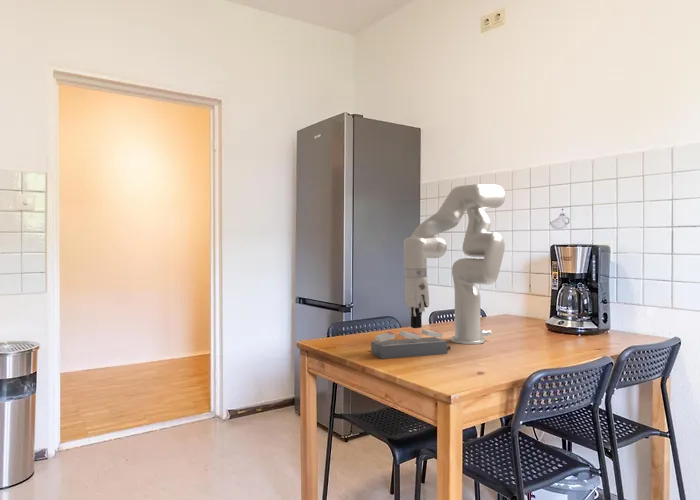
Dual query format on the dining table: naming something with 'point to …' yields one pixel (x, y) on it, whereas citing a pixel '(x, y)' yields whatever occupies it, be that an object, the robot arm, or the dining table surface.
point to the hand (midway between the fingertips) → (416, 327)
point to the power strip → (409, 347)
